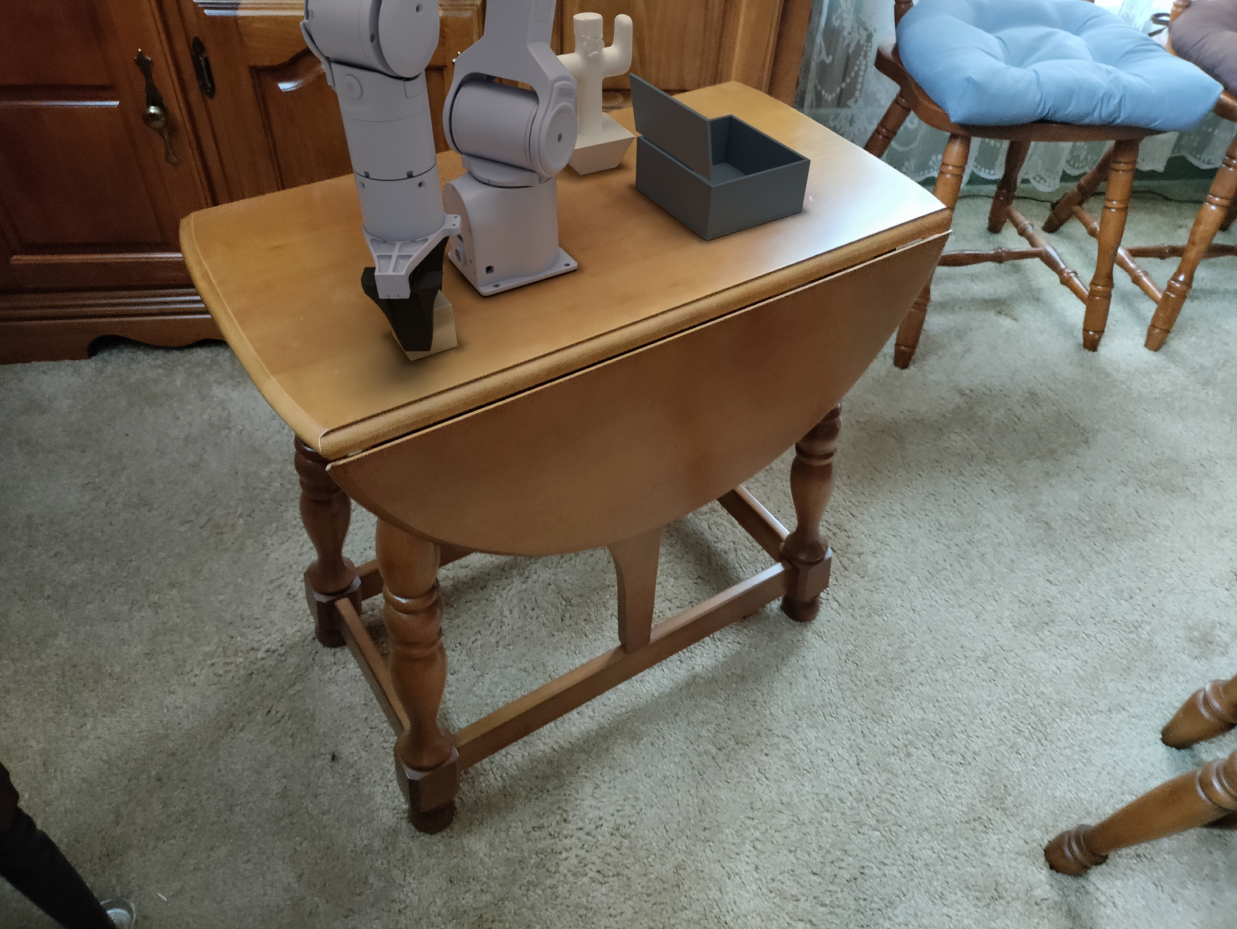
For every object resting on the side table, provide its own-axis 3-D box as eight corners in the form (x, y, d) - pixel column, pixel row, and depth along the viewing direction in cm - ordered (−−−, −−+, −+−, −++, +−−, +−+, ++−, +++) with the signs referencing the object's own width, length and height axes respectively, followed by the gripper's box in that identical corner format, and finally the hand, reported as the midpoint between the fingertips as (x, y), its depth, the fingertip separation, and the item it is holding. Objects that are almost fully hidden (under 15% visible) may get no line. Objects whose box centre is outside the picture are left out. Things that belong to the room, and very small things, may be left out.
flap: (713, 179, 78) (710, 181, 78) (638, 129, 86) (635, 130, 86) (710, 119, 74) (706, 120, 74) (631, 72, 81) (628, 73, 81)
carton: (706, 240, 82) (711, 187, 78) (635, 187, 90) (636, 136, 86) (801, 211, 87) (811, 159, 83) (726, 163, 94) (731, 113, 91)
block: (410, 361, 68) (403, 318, 65) (392, 335, 70) (384, 293, 67) (458, 346, 69) (452, 304, 66) (438, 321, 72) (432, 280, 69)
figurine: (536, 158, 94) (528, 10, 84) (612, 142, 98) (613, -3, 87) (565, 185, 90) (560, 32, 80) (643, 167, 93) (649, 18, 83)
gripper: (441, 212, 54) (464, 382, 63) (462, 120, 65) (480, 278, 74) (328, 213, 54) (368, 384, 63) (367, 120, 64) (397, 278, 74)
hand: (422, 327), depth 69 cm, fingers closed on block, 5 cm apart
